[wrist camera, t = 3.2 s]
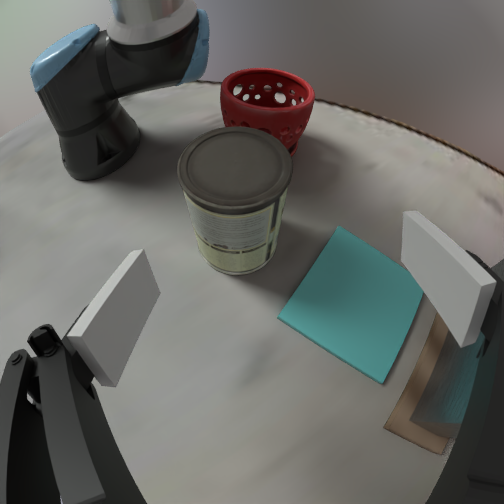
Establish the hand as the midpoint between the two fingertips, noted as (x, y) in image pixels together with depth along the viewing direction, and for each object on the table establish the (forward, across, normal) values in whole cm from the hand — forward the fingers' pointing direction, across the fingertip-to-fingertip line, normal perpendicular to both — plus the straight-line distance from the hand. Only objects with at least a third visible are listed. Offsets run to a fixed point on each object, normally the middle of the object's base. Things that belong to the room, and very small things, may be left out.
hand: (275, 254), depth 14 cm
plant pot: (+36, -1, +1) cm, 36 cm away
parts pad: (+16, +9, -16) cm, 24 cm away
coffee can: (+22, -6, -8) cm, 24 cm away
